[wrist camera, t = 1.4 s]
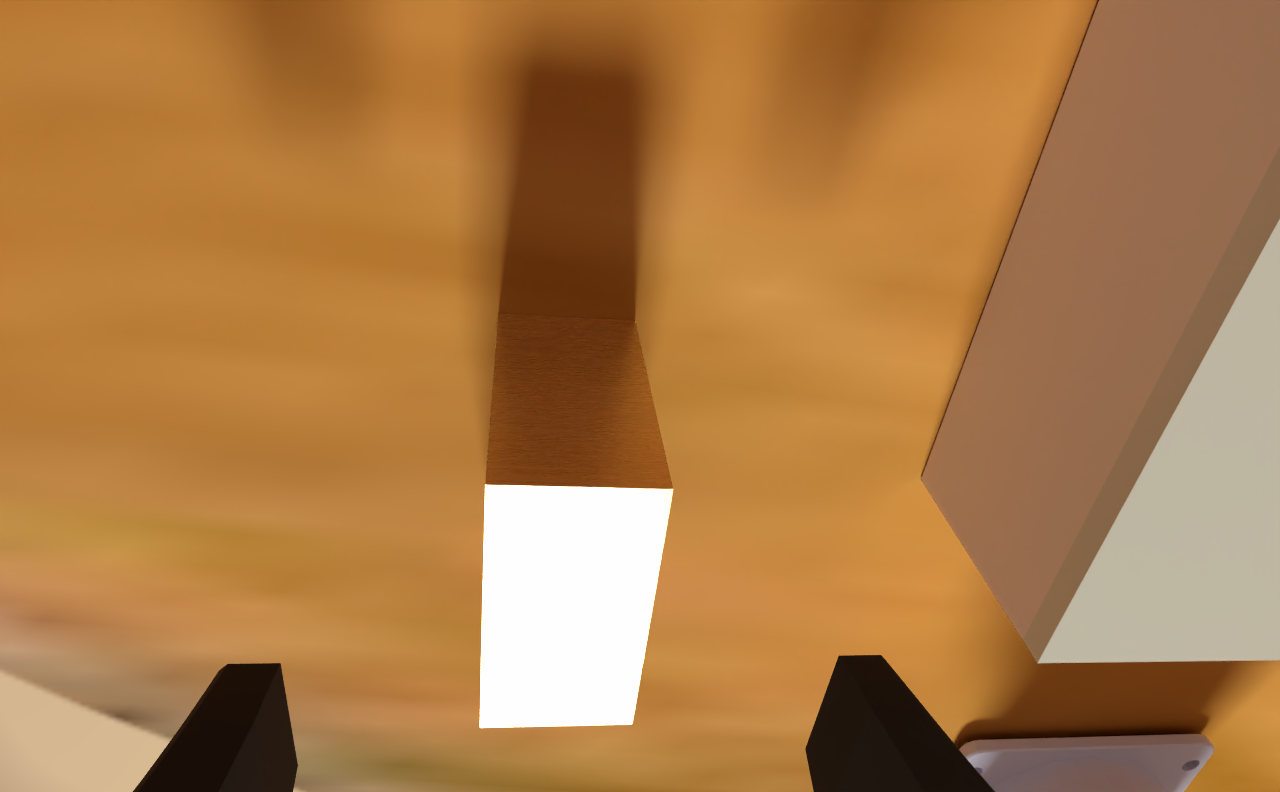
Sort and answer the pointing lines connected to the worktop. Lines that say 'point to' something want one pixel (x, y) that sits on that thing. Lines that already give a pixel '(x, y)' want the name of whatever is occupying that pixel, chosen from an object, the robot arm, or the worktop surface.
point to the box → (1136, 355)
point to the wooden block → (569, 523)
